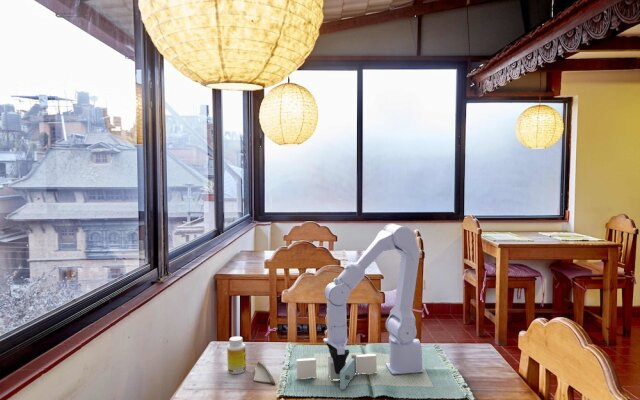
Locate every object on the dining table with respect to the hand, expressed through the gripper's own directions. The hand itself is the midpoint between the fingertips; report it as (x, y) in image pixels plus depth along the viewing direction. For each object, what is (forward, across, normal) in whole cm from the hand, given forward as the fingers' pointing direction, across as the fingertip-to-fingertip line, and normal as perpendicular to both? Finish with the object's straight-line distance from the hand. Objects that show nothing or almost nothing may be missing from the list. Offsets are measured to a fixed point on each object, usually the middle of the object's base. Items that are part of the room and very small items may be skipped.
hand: (337, 369), depth 138 cm
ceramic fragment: (+3, -4, -22) cm, 22 cm away
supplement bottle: (+3, -10, -30) cm, 32 cm away
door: (+2, +4, +3) cm, 5 cm away
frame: (+2, -1, 0) cm, 3 cm away
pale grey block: (+2, 0, 0) cm, 3 cm away
